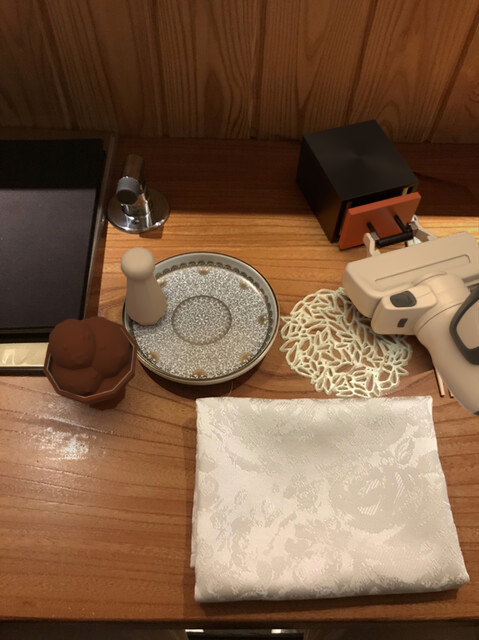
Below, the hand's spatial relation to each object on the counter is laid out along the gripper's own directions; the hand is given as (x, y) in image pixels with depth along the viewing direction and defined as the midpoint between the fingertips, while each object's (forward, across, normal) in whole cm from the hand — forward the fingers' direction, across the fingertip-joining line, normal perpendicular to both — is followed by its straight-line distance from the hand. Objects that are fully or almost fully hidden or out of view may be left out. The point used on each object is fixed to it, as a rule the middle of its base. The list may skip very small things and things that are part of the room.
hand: (388, 229), depth 82 cm
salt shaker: (+1, +37, +6) cm, 37 cm away
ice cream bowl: (-9, +45, +6) cm, 46 cm away
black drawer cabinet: (+12, 0, +6) cm, 13 cm away
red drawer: (+7, 0, +5) cm, 8 cm away
